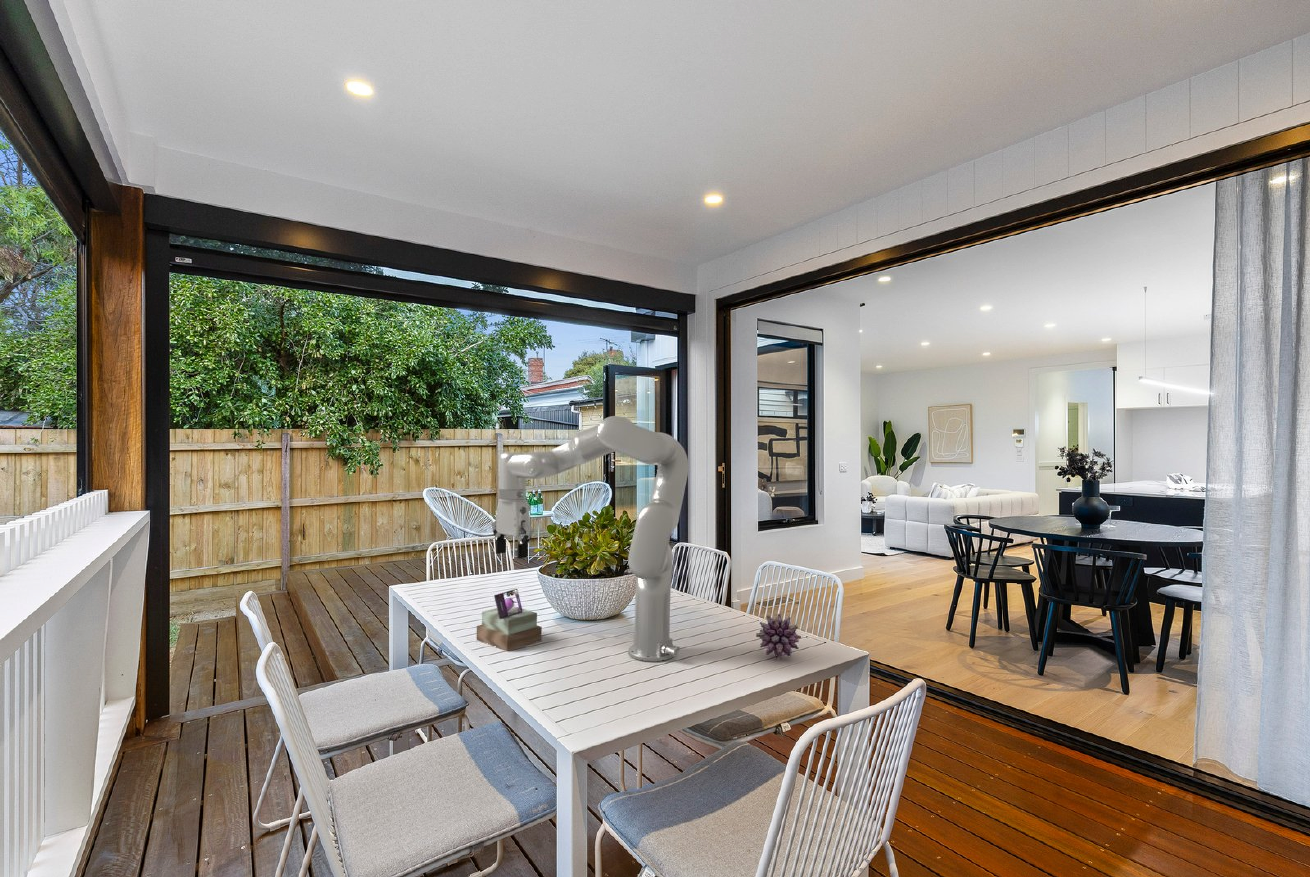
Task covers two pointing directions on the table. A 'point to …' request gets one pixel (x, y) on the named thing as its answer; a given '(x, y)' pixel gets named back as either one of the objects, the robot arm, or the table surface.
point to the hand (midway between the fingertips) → (511, 555)
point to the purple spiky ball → (778, 636)
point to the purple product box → (507, 603)
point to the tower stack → (509, 629)
